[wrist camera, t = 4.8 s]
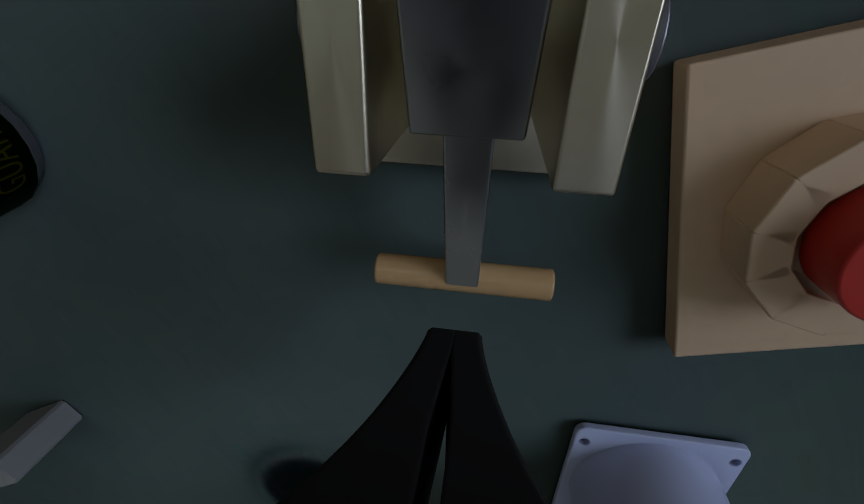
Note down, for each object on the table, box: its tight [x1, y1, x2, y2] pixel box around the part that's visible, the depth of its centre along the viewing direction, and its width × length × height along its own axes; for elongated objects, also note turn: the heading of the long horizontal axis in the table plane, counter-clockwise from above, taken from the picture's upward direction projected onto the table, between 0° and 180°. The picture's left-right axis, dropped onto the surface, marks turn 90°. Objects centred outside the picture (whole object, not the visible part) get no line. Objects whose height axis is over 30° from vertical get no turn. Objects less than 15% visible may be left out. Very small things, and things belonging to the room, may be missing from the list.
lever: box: [374, 0, 555, 301], centre depth 11 cm, size 10×6×2 cm, turn 1°
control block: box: [665, 19, 864, 357], centre depth 13 cm, size 11×9×3 cm
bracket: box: [296, 0, 671, 196], centre depth 9 cm, size 9×8×8 cm
